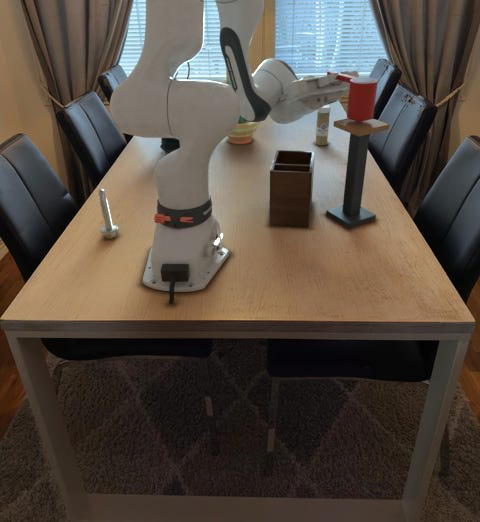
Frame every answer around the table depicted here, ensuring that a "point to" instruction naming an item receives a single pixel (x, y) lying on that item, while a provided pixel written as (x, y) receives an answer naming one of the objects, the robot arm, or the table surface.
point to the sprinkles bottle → (322, 125)
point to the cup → (360, 96)
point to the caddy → (291, 188)
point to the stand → (355, 172)
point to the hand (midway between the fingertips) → (341, 74)
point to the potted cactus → (242, 130)
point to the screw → (107, 218)
